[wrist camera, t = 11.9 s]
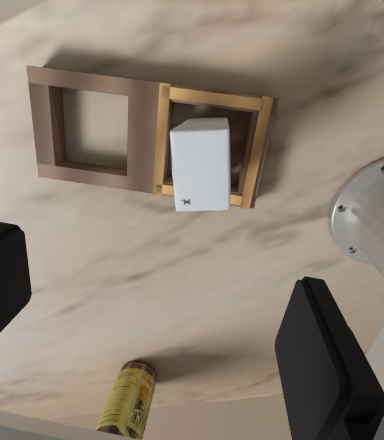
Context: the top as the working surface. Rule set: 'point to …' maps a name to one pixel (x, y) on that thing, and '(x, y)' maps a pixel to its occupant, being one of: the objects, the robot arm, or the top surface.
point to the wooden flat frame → (142, 131)
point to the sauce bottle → (129, 401)
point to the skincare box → (201, 164)
